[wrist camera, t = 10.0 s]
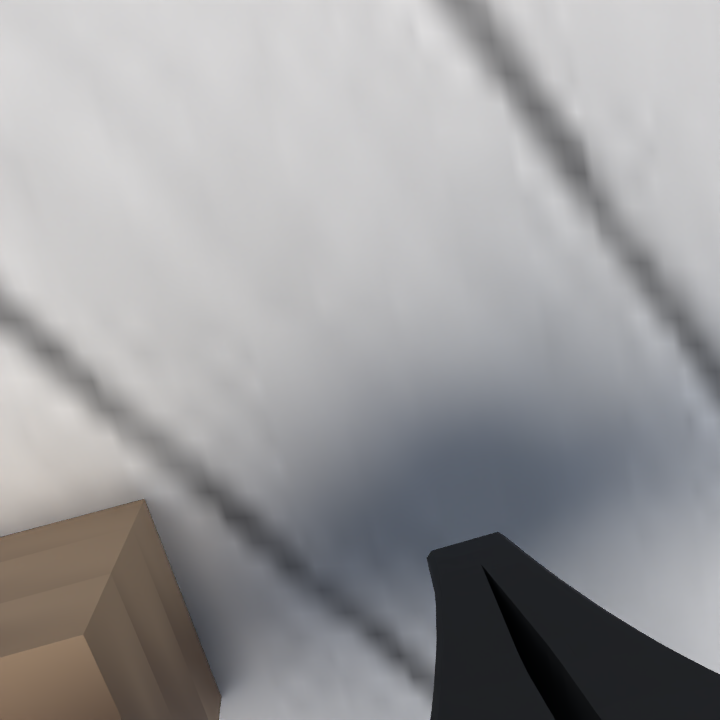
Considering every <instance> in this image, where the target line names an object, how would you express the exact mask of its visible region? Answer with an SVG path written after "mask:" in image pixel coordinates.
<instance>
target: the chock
mask: <svg viewBox="0 0 720 720" xmlns="http://www.w3.org/2000/svg"><path fill="white" fill-rule="evenodd" d="M220 705H221V695H220V692H219V690H218V687H217V685H216V682H215V679H214V677H213V674H212V672H211V669H210V667H209V664H208V661H207V659H206V656H205V654H204V651H203V649H202V646H201V643H200V641H199V638H198V636H197V633H196V631H195V628H194V625H193V623H192V620H191V618H190V615H189V613H188V610H187V607H186V605H185V602H184V600H183V597H182V594H181V592H180V589H179V587H178V584H177V582H176V579H175V576H174V574H173V571H172V569H171V566H170V564H169V561H168V558H167V556H166V553H165V551H164V548H163V546H162V543H161V540H160V538H159V535H158V533H157V530H156V528H155V525H154V522H153V520H152V517H151V515H150V512H149V510H148V507H147V504H146V502H145V499H142V500H139V501H135V502H131V503H127V504H124V505H120V506H116V507H112V508H109V509H105V510H101V511H97V512H93V513H90V514H86V515H82V516H78V517H75V518H71V519H67V520H63V521H60V522H56V523H52V524H48V525H45V526H41V527H37V528H33V529H29V530H26V531H22V532H18V533H14V534H11V535H7V536H3V537H0V720H219V713H220Z"/></svg>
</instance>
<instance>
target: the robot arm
mask: <svg viewBox="0 0 720 720" xmlns="http://www.w3.org/2000/svg"><path fill="white" fill-rule="evenodd" d="M427 562H428V566H429V570H430V574H431V579H432V583H433V587H434V591H435V600H436V629H437V646H436V664H435V680H434V693H433V702H432V711H431V719H430V720H720V674H718V673H716V672H714V671H712V670H710V669H708V668H706V667H704V666H702V665H700V664H698V663H696V662H694V661H692V660H690V659H688V658H686V657H684V656H683V655H681V654H679V653H677V652H675V651H673V650H671V649H669V648H668V647H666V646H664V645H662V644H661V643H659V642H657V641H655V640H654V639H652V638H650V637H648V636H647V635H645V634H643V633H642V632H640V631H638V630H637V629H635V628H633V627H632V626H630V625H628V624H627V623H625V622H624V621H622V620H620V619H619V618H617V617H615V616H614V615H612V614H611V613H609V612H608V611H606V610H605V609H603V608H602V607H600V606H598V605H597V604H595V603H594V602H592V601H591V600H590V599H588V598H587V597H585V596H584V595H582V594H581V593H579V592H578V591H577V590H575V589H574V588H572V587H571V586H569V585H568V584H566V583H565V582H564V581H562V580H561V579H559V578H558V577H557V576H555V575H554V574H553V573H551V572H550V571H549V570H547V569H546V568H545V567H543V566H542V565H541V564H539V563H538V562H537V561H535V560H534V559H533V558H531V557H530V556H529V555H528V554H526V553H525V552H524V551H523V550H521V549H520V548H519V547H518V546H516V545H515V544H514V543H513V542H511V541H510V540H509V539H508V538H506V537H505V536H504V535H502V534H500V533H499V532H496V533H493V534H489V535H486V536H482V537H479V538H475V539H471V540H468V541H464V542H461V543H457V544H454V545H450V546H447V547H443V548H440V549H436V550H433V551H431V553H430V554H429V555H428V557H427Z"/></svg>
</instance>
